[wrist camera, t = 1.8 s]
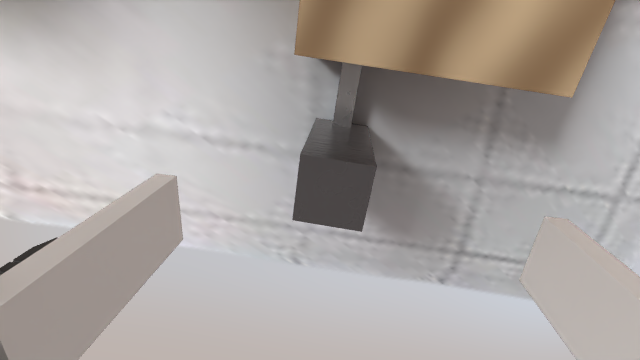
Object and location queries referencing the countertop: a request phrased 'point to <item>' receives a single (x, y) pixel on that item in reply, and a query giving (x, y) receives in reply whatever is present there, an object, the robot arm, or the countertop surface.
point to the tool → (337, 164)
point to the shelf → (460, 38)
